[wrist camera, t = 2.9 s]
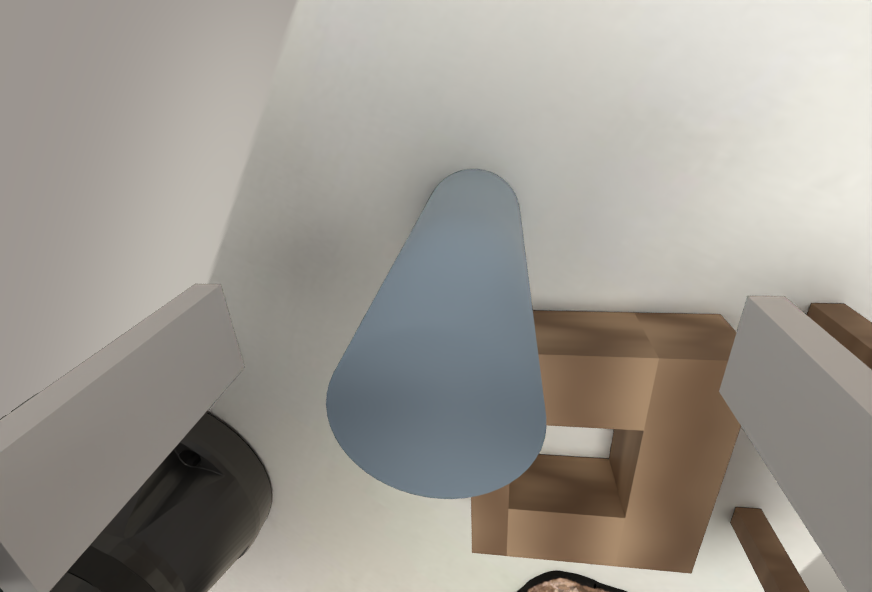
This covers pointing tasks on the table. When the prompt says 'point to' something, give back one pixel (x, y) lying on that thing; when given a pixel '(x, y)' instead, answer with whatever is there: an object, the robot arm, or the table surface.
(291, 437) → the table surface
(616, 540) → the socket station
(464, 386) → the peg
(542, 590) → the shell
